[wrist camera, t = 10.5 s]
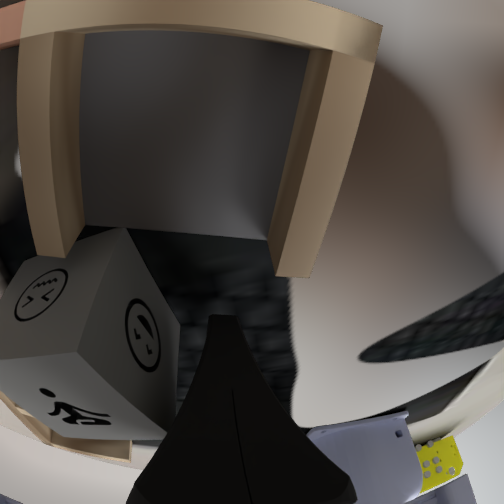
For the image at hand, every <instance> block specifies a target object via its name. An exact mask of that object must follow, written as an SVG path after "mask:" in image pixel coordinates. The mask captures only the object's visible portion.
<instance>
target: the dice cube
mask: <svg viewBox="0 0 504 504" xmlns="http://www.w3.org/2000/svg"><path fill="white" fill-rule="evenodd" d="M179 337H180V324H179V322H178V320H177V319H176V317H175V315H174V314H173V312H172V310H171V309H170V307H169V305H168V304H167V302H166V300H165V299H164V297H163V295H162V293H161V292H160V290H159V288H158V286H157V285H156V283H155V281H154V279H153V278H152V276H151V274H150V272H149V270H148V269H147V267H146V265H145V263H144V261H143V259H142V257H141V256H140V254H139V252H138V250H137V248H136V246H135V244H134V242H133V240H132V238H131V237H130V235H129V233H128V231H127V229H126V228H120V227H117V228H114V229H111V230H108V231H105V232H102V233H99V234H96V235H93V236H90V237H87V238H85V239H82V240H79V241H76V242H74V244H73V246H72V247H71V249H70V251H69V253H68V254H67V256H66V258H60V257H51V256H42V255H38V256H36V257H33V258H31V259H28V260H25V261H24V262H23V263H22V265H21V267H20V268H19V270H18V271H17V273H16V274H15V276H14V277H13V279H12V281H11V282H10V284H9V286H8V287H7V289H6V291H5V292H4V294H3V296H2V297H1V299H0V391H1V392H3V393H4V394H5V395H6V396H7V397H9V398H10V399H11V400H12V401H14V402H15V403H16V404H17V405H19V406H20V407H21V408H23V409H24V410H25V411H27V412H28V413H29V414H31V415H32V416H33V417H35V418H36V419H38V420H39V421H40V422H42V423H43V424H45V425H46V426H48V427H49V428H51V429H52V430H54V431H55V432H57V433H58V434H60V435H61V436H63V437H71V438H83V439H102V440H156V439H164V438H165V436H166V434H167V433H168V431H169V429H170V427H171V425H172V424H173V422H174V420H175V416H176V389H177V369H178V352H179Z"/></svg>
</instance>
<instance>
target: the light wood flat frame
mask: <svg viewBox="0 0 504 504" xmlns="http://www.w3.org/2000/svg"><path fill="white" fill-rule="evenodd" d="M382 27H383V26H382V25H380V24H378V23H375V22H373V21H370V20H368V19H365V18H362V17H360V16H357V15H354V14H351V13H349V12H346V11H343V10H340V9H337V8H333V7H330V6H327V5H324V4H320V3H317V2H313V1H309V0H25V1H22V2H19V3H15V4H12V5H9V6H6V7H3V8H0V50H2V49H6V48H10V47H14V46H18V45H19V56H18V71H17V126H18V142H19V154H20V164H21V172H22V180H23V187H24V194H25V200H26V205H27V211H28V216H29V221H30V226H31V231H32V235H33V239H34V244H35V248H36V252H37V255H42V256H51V257H60V258H66V256H67V254H68V253H69V251H70V249H71V247H72V246H73V244H74V242H75V241H76V239H77V237H78V236H79V234H80V232H81V231H82V229H83V228H84V226H85V225H94V226H107V227H120V228H133V229H145V230H157V231H169V232H181V233H193V234H204V235H216V236H227V237H238V238H249V239H260V240H267V243H268V247H269V251H270V255H271V259H272V263H273V267H274V271H275V275H276V276H282V277H298V278H310V274H311V272H312V269H313V266H314V264H315V261H316V258H317V255H318V252H319V250H320V247H321V243H322V241H323V238H324V235H325V232H326V229H327V226H328V223H329V220H330V217H331V214H332V211H333V208H334V205H335V202H336V199H337V196H338V193H339V189H340V186H341V183H342V180H343V177H344V173H345V170H346V167H347V164H348V160H349V157H350V153H351V150H352V147H353V143H354V139H355V136H356V133H357V129H358V125H359V122H360V118H361V114H362V110H363V107H364V103H365V99H366V96H367V92H368V88H369V84H370V80H371V76H372V72H373V67H374V63H375V59H376V54H377V50H378V46H379V41H380V36H381V32H382ZM0 399H1V400H2V401H3V402H4V403H5V404H6V405H7V407H8V408H9V409H10V410H11V411H12V412H13V413H14V414H15V415H16V416H17V417H18V418H19V419H20V420H21V421H22V422H23V424H24V425H25V426H26V427H27V428H29V429H30V430H31V431H32V432H33V433H34V434H35V435H36V436H37V437H38V438H39V439H40V440H41V441H42V442H43V443H44V444H46V445H50V446H53V447H57V448H60V449H64V450H68V451H72V452H76V453H80V454H85V455H89V456H94V457H99V458H104V459H110V460H116V461H122V462H128V463H131V452H132V441H131V440H102V439H83V438H71V437H63V436H61V435H60V434H58V433H57V432H55V431H54V430H52V429H51V428H49V427H48V426H46V425H45V424H43V423H42V422H40V421H39V420H38V419H36V418H35V417H33V416H32V415H31V414H29V413H28V412H27V411H25V410H24V409H23V408H21V407H20V406H19V405H17V404H16V403H15V402H14V401H12V400H11V399H10V398H9V397H7V396H6V395H5V394H4V393H3V392H1V391H0Z"/></svg>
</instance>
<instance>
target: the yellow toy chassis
mask: <svg viewBox="0 0 504 504" xmlns="http://www.w3.org/2000/svg"><path fill="white" fill-rule="evenodd" d="M415 450H416V453H417V456H418V458H419V461H420V465H421V468H422V473H423V484H422V489H421V491H420V493H422V492H424V491H426V490H429V489H431V488H433V487H435V486H437V485H439V484H442V483H444V482H446V481H448V480H450V479H452V478H454V477H456V476H457V475H459V474H460V471H461V469H462V466H463V462H462V459H461V456H460V454H459V451H458V448H457V446H456V443H455V441H454V438H453V435H452V436H450V437H447V438H445V439H442V440H441V438H440V437H439V438H436V439H434V440H432V441H431V440H430V441H428V442H427V444H425V445H424V446H421V445H420V444H418V445H416V446H415ZM450 467H451V468H450ZM453 467H454V468H455V471H454V468H453ZM453 474H454V475H453Z"/></svg>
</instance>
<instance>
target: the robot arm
mask: <svg viewBox="0 0 504 504" xmlns="http://www.w3.org/2000/svg"><path fill="white" fill-rule="evenodd" d="M408 415H409V413H408V411H403V412H399V413H394V414H390V415H385V416H380V417H375V418H370V419H364V420H358V421H352V422H346V423H339V424H332V425H324V426H317V427H314V428H312V429H311V430H310V431H309V432H308V433H307V434H305V433H304V432H303V431H302V430H301V429H300V428H299V427H298V425H297V424H296V423H295V422H294V420H293V419H292V418H291V416H290V415H289V414H288V413H287V411H286V410H285V408H284V407H283V406H282V404H281V403H280V401H279V400H278V398H277V397H276V395H275V394H274V392H273V391H272V389H271V387H270V386H269V384H268V382H267V381H266V379H265V377H264V375H263V374H262V372H261V370H260V368H259V366H258V364H257V362H256V360H255V358H254V356H253V354H252V352H251V350H250V347H249V345H248V343H247V340H246V338H245V335H244V333H243V330H242V327H241V324H240V321H239V318H238V317H237V316H233V315H217V314H212V315H210V316H209V320H208V328H207V337H206V342H205V346H204V349H203V353H202V356H201V359H200V362H199V365H198V368H197V371H196V373H195V376H194V378H193V381H192V384H191V386H190V388H189V391H188V393H187V395H186V398H185V400H184V402H183V404H182V406H181V408H180V410H179V412H178V414H177V416H176V418H175V420H174V422H173V424H172V425H171V427H170V429H169V431H168V433H167V434H166V436H165V438H164V439H163V441H162V443H161V444H160V446H159V447H158V449H157V451H156V452H155V454H154V456H153V457H152V459H151V460H150V462H149V463H148V464H147V466H146V467H145V469H144V470H143V471H142V473H141V474H140V476H139V477H138V478H137V480H136V481H135V483H134V486H133V488H132V490H131V492H130V494H129V497H128V499H127V501H126V504H477V503H476V500H475V496H474V493H473V490H472V487H471V484H470V481H469V478H468V475H467V474H465V475H463V476H461V477H459V478H457V479H455V480H453V481H451V482H449V483H447V484H446V485H443V486H441V487H439V488H437V489H435V490H433V491H430V492H428V493H426V494H424V495H421V496H419V497H417V496H418V495H419V493H420V491H421V489H422V484H423V473H422V468H421V465H420V461H419V458H418V456H417V453H416V450H415V447H414V444H413V441H412V438H411V435H410V433H409V430H408V427H407V424H406V422H405V418H406V417H407V416H408ZM416 497H417V498H416ZM0 504H23V503H20V502H18V501H16V500H13V499H11V498H9V497H7V496H4V495H2V494H0Z"/></svg>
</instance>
